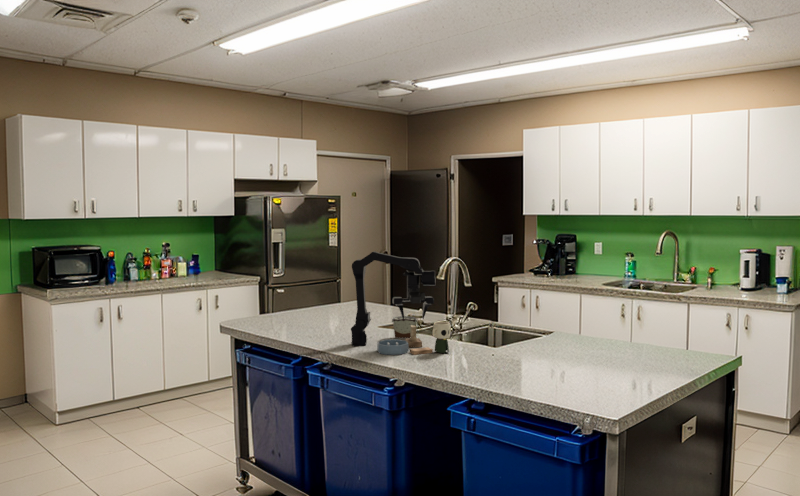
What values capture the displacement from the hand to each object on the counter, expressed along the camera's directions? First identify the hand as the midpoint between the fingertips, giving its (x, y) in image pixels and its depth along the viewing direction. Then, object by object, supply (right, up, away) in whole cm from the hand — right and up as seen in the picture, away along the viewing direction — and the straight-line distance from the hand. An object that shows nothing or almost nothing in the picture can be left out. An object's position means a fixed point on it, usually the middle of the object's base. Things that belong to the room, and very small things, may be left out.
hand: (413, 319), depth 281 cm
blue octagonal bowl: (-9, -13, -12) cm, 20 cm away
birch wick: (0, -12, 0) cm, 12 cm away
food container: (-4, -12, +20) cm, 24 cm away
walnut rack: (0, -12, 0) cm, 12 cm away
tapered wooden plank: (+3, -14, -14) cm, 20 cm away
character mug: (+12, -13, -14) cm, 23 cm away
